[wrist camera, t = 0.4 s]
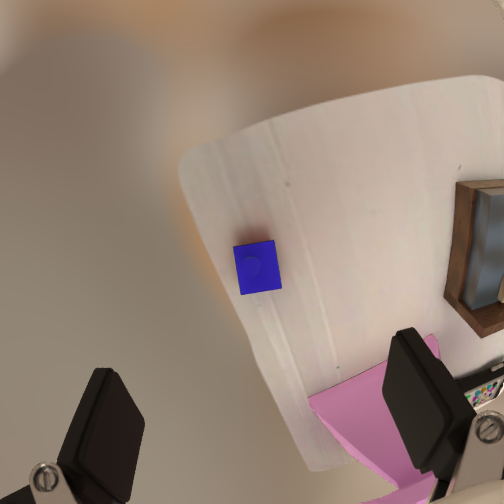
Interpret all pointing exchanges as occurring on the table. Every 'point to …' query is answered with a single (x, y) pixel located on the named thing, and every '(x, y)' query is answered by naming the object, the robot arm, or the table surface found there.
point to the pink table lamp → (374, 432)
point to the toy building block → (257, 267)
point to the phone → (483, 385)
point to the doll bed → (460, 262)
